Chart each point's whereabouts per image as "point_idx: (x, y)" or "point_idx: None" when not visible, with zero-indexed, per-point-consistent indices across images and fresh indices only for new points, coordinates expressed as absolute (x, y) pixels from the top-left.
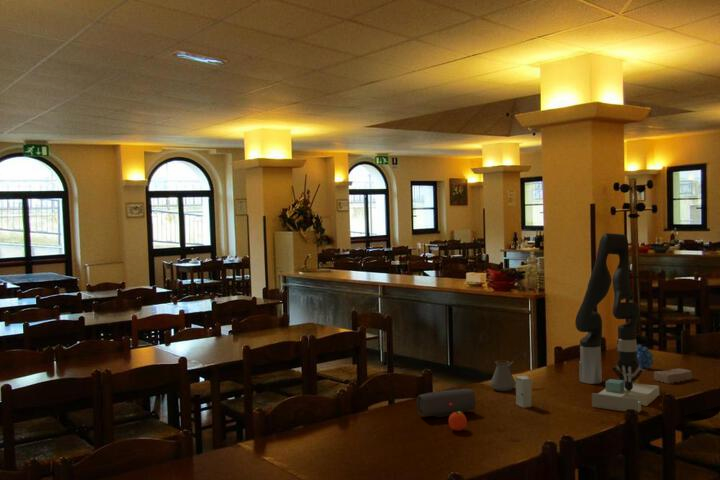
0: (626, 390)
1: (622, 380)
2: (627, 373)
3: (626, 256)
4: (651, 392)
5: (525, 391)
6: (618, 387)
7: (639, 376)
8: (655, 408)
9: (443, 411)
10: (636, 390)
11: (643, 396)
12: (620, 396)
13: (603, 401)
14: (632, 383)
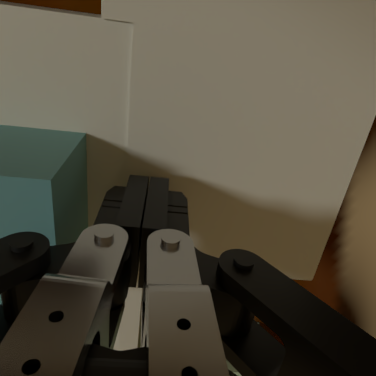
0: (113, 152)
1: (24, 181)
2: (97, 342)
3: None
4: (367, 126)
5: None
6: None
7: (318, 299)
8: (340, 262)
9: None
10: (214, 127)
11: (288, 273)
12: (126, 348)
13: None
14: (188, 235)
